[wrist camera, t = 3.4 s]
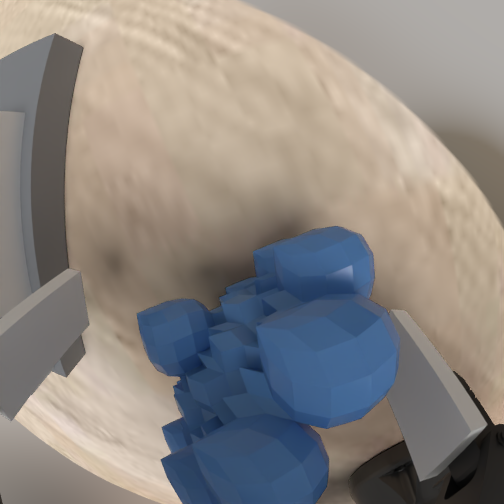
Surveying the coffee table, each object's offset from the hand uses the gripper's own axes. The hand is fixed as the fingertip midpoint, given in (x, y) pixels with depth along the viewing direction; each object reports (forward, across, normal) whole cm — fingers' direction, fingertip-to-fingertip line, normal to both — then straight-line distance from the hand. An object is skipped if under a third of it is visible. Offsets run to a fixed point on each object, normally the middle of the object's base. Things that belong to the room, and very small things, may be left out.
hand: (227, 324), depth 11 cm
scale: (+4, +22, -3) cm, 22 cm away
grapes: (+4, 0, 0) cm, 5 cm away
